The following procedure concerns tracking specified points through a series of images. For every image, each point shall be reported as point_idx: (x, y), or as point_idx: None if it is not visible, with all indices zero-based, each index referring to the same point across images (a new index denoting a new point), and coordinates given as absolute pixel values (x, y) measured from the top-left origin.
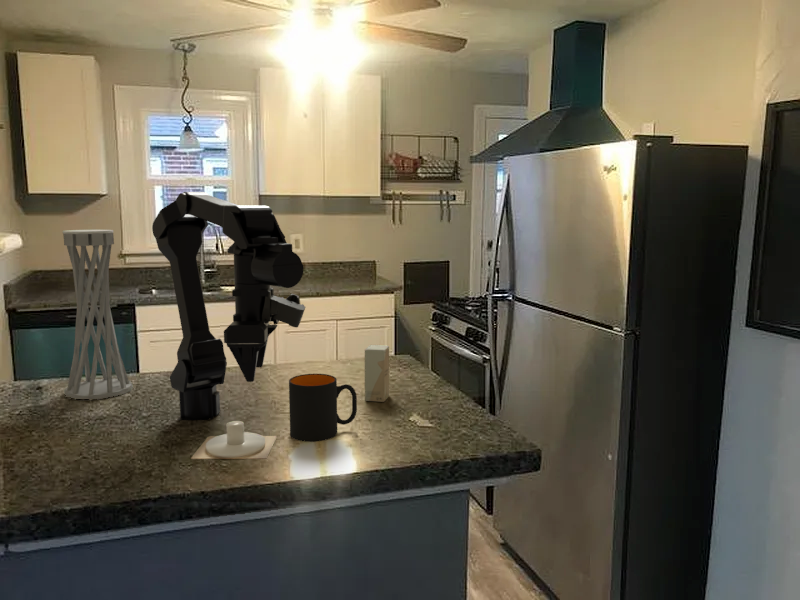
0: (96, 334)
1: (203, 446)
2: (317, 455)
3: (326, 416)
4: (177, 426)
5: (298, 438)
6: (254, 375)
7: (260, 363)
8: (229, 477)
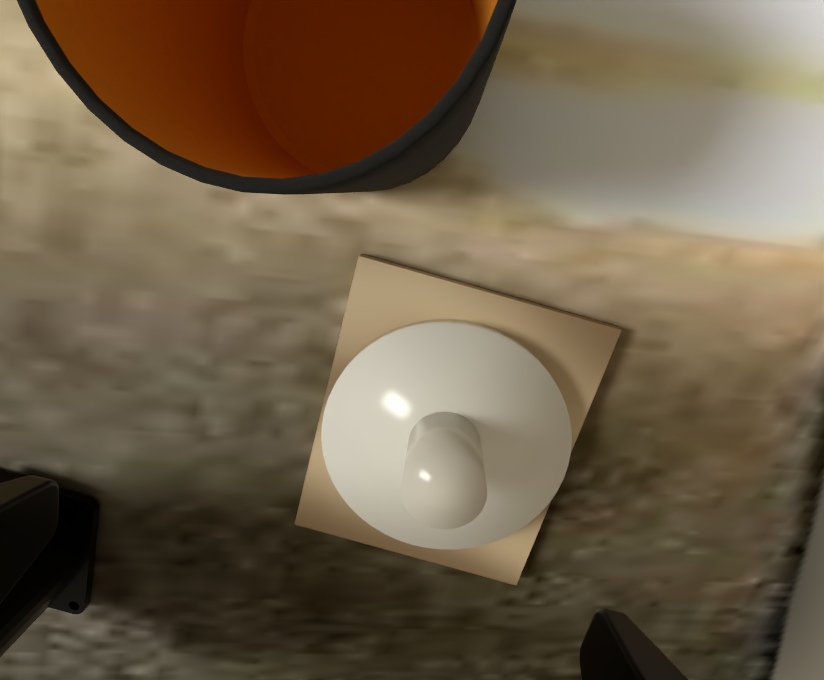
0: None
1: (405, 543)
2: (628, 86)
3: None
4: (130, 604)
5: (443, 158)
6: (660, 659)
7: (26, 517)
8: (711, 467)
